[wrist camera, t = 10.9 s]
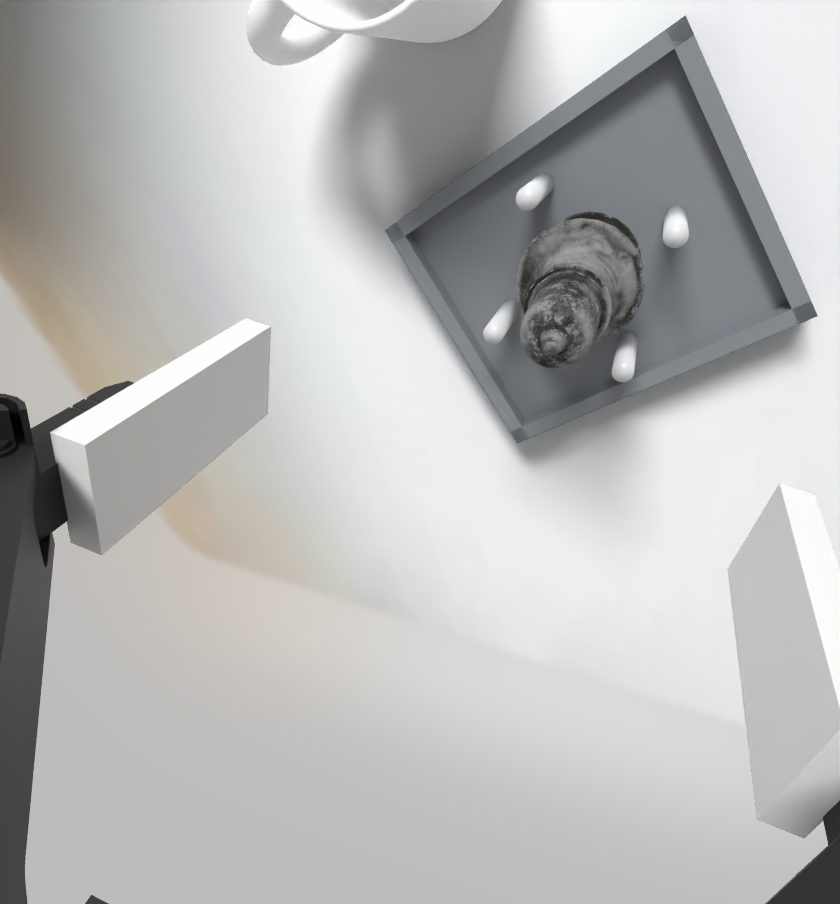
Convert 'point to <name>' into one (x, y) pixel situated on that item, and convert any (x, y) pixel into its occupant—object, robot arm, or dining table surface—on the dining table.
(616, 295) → the dark grey tall piece
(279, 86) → the dining table surface
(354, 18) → the mug
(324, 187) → the dining table surface
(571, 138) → the tray
